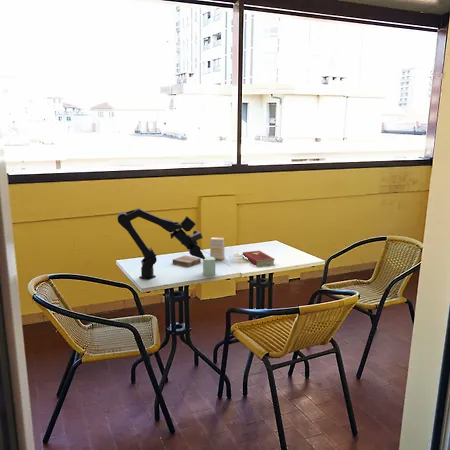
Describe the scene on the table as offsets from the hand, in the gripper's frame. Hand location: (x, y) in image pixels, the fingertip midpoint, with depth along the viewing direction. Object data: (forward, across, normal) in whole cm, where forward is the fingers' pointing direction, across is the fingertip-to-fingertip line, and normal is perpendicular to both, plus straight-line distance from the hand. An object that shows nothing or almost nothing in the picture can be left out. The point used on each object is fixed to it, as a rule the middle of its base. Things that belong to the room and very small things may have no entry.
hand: (203, 256), depth 253 cm
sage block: (+9, 0, +5) cm, 11 cm away
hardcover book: (+34, +21, -18) cm, 44 cm away
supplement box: (+17, +30, -2) cm, 34 cm away
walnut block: (+3, +23, +12) cm, 26 cm away
